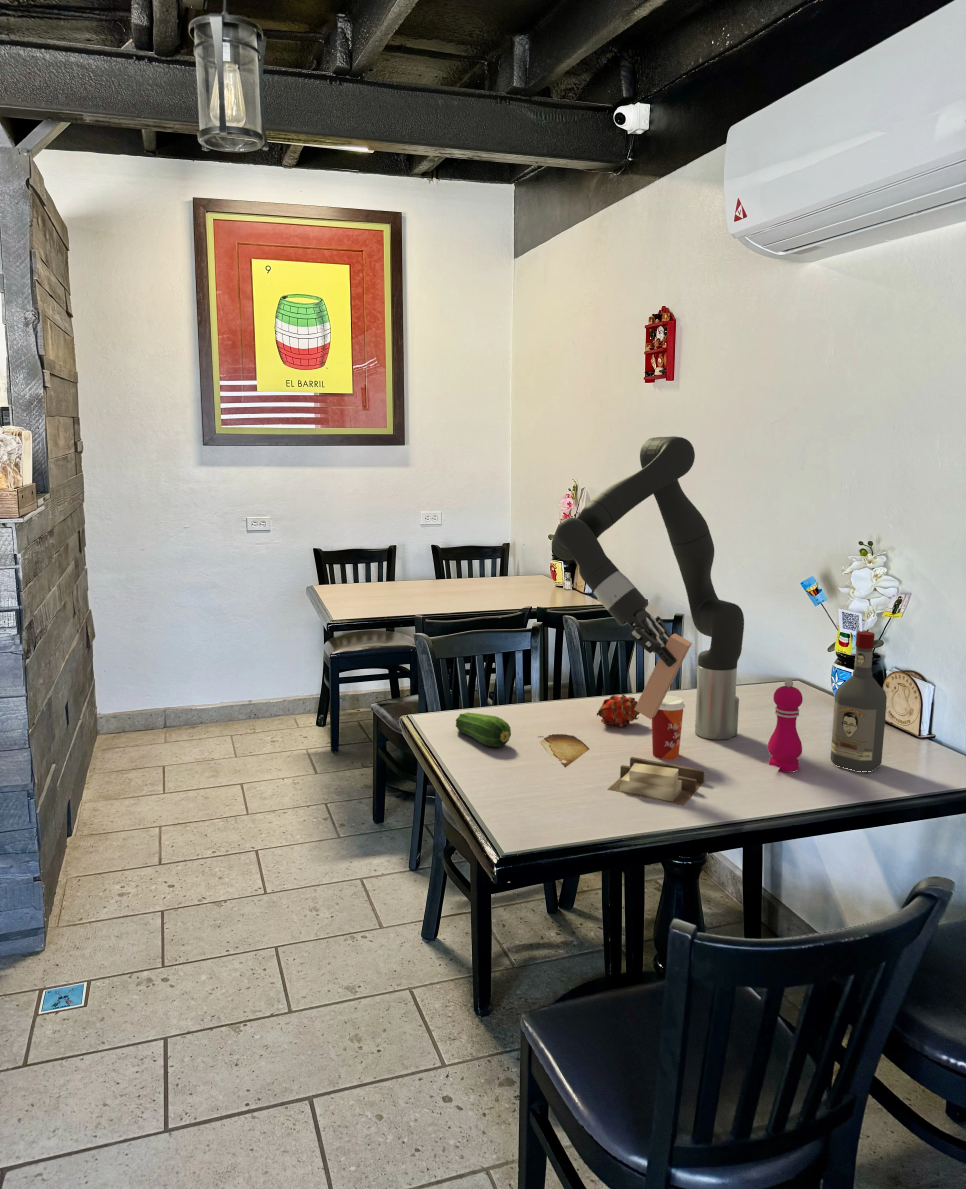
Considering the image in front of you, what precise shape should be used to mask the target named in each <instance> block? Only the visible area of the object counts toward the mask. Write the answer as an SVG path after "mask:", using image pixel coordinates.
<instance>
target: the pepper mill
mask: <svg viewBox="0 0 966 1189" xmlns="http://www.w3.org/2000/svg"><path fill="white" fill-rule="evenodd" d="M803 701H804V700H803V694H802V692H801V690H800V689H799V688H797V687H795V686H794V681H793V680H792V679H786V680H784V685H782V686H780V687H777V689H776V690H774V693H773V702H774V703H775V705H776V706H775V708H774V710H775V711H774V714H775V715H776V719H777V720H776V725H775V728H774V731H773V733H772V734H771V735H770V738H769V739H768V744H767V751H768V753H769V754H770V757H769V760H768V765H769V766H773V767H775V768H776V767H777V768H779V769H778V770H777V771H778V772H780V771H782V772H781V773H794V772H793V771H795V772H797V771H799V769H800V760H799V759H798V758H800V756H801V755H802V754H803V745H802V742H801V741H802V740H801V739H800V736H799V733H798V730H797V720H798V719H797V718H798V717H799V716H800V709H799V708H800V706H801V705H802V703H803ZM796 770H797V771H796Z"/></svg>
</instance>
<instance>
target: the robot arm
mask: <svg viewBox="0 0 966 1189" xmlns="http://www.w3.org/2000/svg"><path fill="white" fill-rule="evenodd" d="M695 456H696V453H695V449H694V446H693V444H692V443H691V441H690V440H688V438H685V437H682V436H676V435H675V436H674V435H673V436H657V437H650V438H648V439H646V440H645V442H644V443H642V446H641V448H640V451H639V462H640V467H641V469H640V470H638V471H637V472H635V473H633V474H631V475H629V476H628V477H626V478H624V479H622V480H620V481H618V482H616V483H614V484H612V485H610V486H608V487H607V488H606V489H604V490H603V491H601V492H600V493H599V494H598V495H596V497H594V498H593V499H591V501H589V502H588V503H586V505H585V506H584V507H583V509H581V512H579V514H578V516H576V517H567V518H565V519H563V520H562V521H560V523H559V524H558V526H557V528H556V530H555V533H554V534H553V537H552V539H551V549H552V552H553V554H554V556H556V558H558V559H560V560H562V561H573V560H575V561H576V563H577V565H578V574H579V576H580V577H581V579H582V580H583V581H584V583H585V584H586V585H587V586H588V588H589V589H590V590H591V591H592V592H593V593H594V595H595V596H596V598H597V599H598V601H599V602H600V604H601V605H602V606H603V607H604V608H605V610H607V612H608V613H609V614H610V615H611V617H613V618H614V620H615V621H616V622H617V624H618V625H619V626H622V627H624V626H626V625H629V628H630V630H632V631H631V632H630V633H629V634H628V636H629V637H630V639H632V640H634V642H635V643H637V644H638V645H639V646H641V647H642V648H643V650H645V651H646V652H648V653H649V654H652V653H653V654H655V655H656V654H657V656H658V658H661V659H662V660H663V662H664V663H665V664H666V665H667V666H668V667H670V666H672V665H673V664H674V663H675V662H676V661H677V660H676V658H675V657H674V656H673V655H672V654H671V653H670V651H669V650H668V649H667V648H666V647H665V646H666V644H667V642H668V640H669V638H670V636H671V635H672V633H671V632H670V631H669V630H668V628H667V627H666V625H665V622H663V619H662V618H661V616H659V615H657V616H656V617H654V616H653V615H651V614H650V613H649V612H648V611H647V610H646V608H648V606H649V601H648V600H647V599H646V597H644V595H643V594H642V593H641V592H640V590H639V589H638V588H637V587H636V586H635V585H634V584H633V583H632V581H631V580H630V579H629V578H628V577H627V576H626V575H625V574H623V572H621V571H620V569H619V568H618V567H617V566H616V565H615V564H614V562H613V561H612V560H611V559H610V558H609V557H608V556H607V555H606V552H605V551H604V549H603V547H602V544H601V543H600V541H599V538H600V536H601V535H602V534H604V533H605V532H606V531H607V530H609V529H610V528H611V527H612V526H614V525H615V524H616V523H617V522H618V521H620V520H621V519H622V518H623V517H624V516H625V515H627V514H628V513H629V512H631V510H633V509H634V508H635V507H637V506H638V505H639V504H641V503H642V502H643V501H644V500H646V499H648V498H649V497H651V496H652V495H653V497H654V499H655V501H656V503H657V506H658V510H659V512H660V514H661V518H662V521H663V523H664V526H665V528H666V532H667V534H668V539H669V542H670V545H671V548H672V551H673V555H674V556H675V559H676V562H677V564H678V568H679V572H680V575H681V579H682V581H683V583H684V588H685V591H686V595H687V601H688V605H689V610H690V615H691V619H692V623H693V625H694V627H695V629H696V630H697V631H698V633H699V634H702V635H704V636H707V637H710V638H711V640H710V645H709V646H710V648H709V649H706V650H703V651H701V652H699V654H698V656H697V673H696V674H697V675H696V676H697V677H696V697H695V698H696V701H695V720H694V721H695V723H694V734H695V735H697V736H699V737H700V738H704V739H709V740H728V739H731V738H733V737H734V736H738V729H739V709H740V708H739V706H740V705H739V704H740V698H739V696H737V676H738V675H737V674H738V661H739V659H740V658H741V657H740V656H741V655H742V649H743V648H742V647H743V639H744V632H745V617H744V612H743V610H742V608H741V607H740V606H739V605H738V604H736V603H733V602H731V601H728V600H727V601H726V600H722V599H720V598H719V597H718V595H717V593H716V590H715V587H714V584H713V581H712V574H711V572H712V568H713V564H714V559H715V544H714V542H713V538H712V534H711V531H710V529H709V526H708V523H707V521H706V519H705V518H704V516H703V514H702V513H701V512H700V511H699V510H698V509H697V507H696V506H695V504H693V502H692V501H691V500H690V499H689V498H688V497H687V495H686V494H685V492H684V491H683V488H682V487H681V485H680V484H681V483H680V482H679V479H681V478H682V477H683V476H686V474H688V473H689V471H690V470H691V469H692V468H693V465H694V464H695V463H694V462H695V459H696V458H695Z"/></svg>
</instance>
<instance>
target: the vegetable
mask: <svg viewBox="0 0 966 1189" xmlns="http://www.w3.org/2000/svg"><path fill="white" fill-rule="evenodd" d="M455 728H457V730H458V732H459V733H461V734H463V735H465V734H466V735H465V736H469V737H472V738H473V739H474V740H476V741H478V742H479V743H481V744H482V745H485V746H487V747H490V748H494V749H498V748H501V747H504V746H505V745H507V743H508V742H509V741H510V738H511V736H512V729H511V726H510V725H509V723H508V722H507V721H505V720H504V719H503V718H501V717H499V716H496V715H490V714H482V713H474V712H465V713H460V714H458V716H457V718H456V719H455Z"/></svg>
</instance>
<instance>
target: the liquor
mask: <svg viewBox="0 0 966 1189" xmlns="http://www.w3.org/2000/svg"><path fill="white" fill-rule="evenodd" d="M875 634H876V633H874V632H872V631H864V630H862V631H857V632H856V635H855V654H854V655H855V658H854V665H853V666H854V667H853V668H854V669H853V671H852V675H851V676H850V677H849V678H847V680H845V682H843V683H842V684H841V685H840V686H839V687H837V689H836V691H835V694H834V704H833V718H832V730H831V731H832V734H831V748H830V760H831V762H833V763H834V764H835V765H837V766H840V767H844V768H848V769H852V770H855V771H861V772H862V771H867V772H868V771H872V770H873V771H874V769H875V768H876V769H878V768H879V767H880V766H881V765H882V761H883V760H882V759H883V750H884V736H885V726H886V725H885V724H886V714H887V713H886V711H887V700H888V697H887V694H886V692H885V690H884V689H883V688H882V687H881V685H880V684H879V683H878V681H877V680H876V679H875V678H874V677H873V671H872V666H873V665H872V664H873V650H874V647H875ZM833 763H832V764H833ZM834 764H833V765H834ZM835 765H834V766H835ZM878 766H879V767H878ZM877 767H878V768H877ZM876 769H875V770H876ZM873 771H872V772H873Z"/></svg>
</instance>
